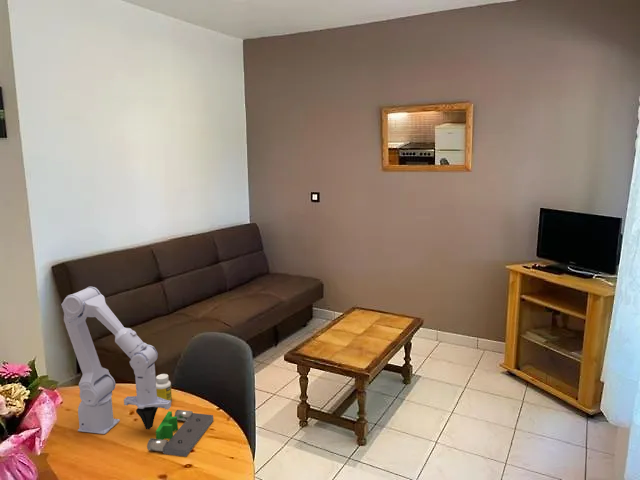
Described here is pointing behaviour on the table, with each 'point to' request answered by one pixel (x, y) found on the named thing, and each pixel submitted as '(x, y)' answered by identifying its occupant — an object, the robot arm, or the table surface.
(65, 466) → the table surface
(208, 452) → the table surface
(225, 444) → the table surface
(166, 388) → the supplement bottle
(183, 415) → the fixed leaf
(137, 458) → the table surface
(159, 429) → the green notched block
